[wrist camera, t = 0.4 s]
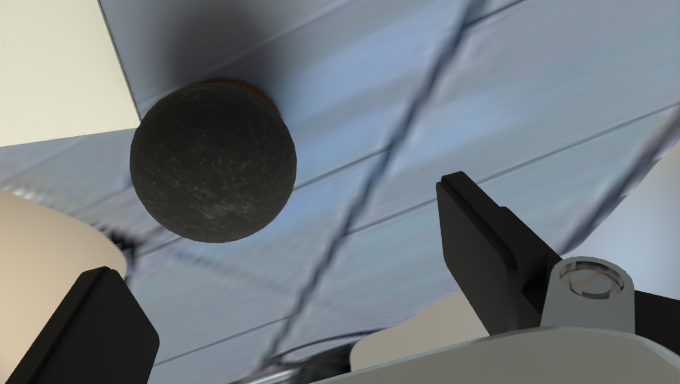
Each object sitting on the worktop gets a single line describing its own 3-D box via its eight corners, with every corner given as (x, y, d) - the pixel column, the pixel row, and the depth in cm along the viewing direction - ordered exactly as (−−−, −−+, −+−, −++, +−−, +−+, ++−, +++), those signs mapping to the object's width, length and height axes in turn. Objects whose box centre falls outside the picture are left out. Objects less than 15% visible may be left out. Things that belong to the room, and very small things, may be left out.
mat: (-142, -45, 30) (-147, -46, 29) (75, -67, 31) (73, -68, 31) (-29, 149, 37) (-32, 151, 37) (142, 125, 38) (141, 126, 38)
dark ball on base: (313, 160, 43) (330, 233, 30) (206, 208, 44) (176, 301, 30) (255, 43, 37) (243, 71, 23) (132, 101, 37) (53, 160, 24)
